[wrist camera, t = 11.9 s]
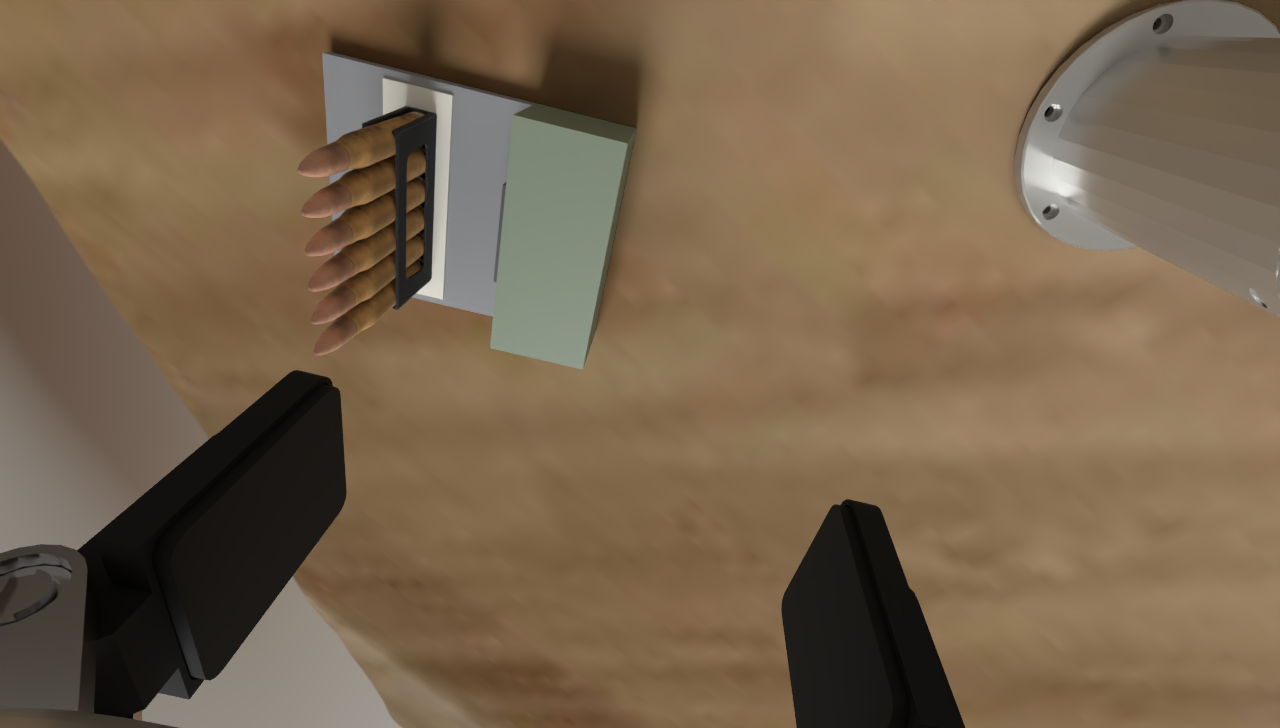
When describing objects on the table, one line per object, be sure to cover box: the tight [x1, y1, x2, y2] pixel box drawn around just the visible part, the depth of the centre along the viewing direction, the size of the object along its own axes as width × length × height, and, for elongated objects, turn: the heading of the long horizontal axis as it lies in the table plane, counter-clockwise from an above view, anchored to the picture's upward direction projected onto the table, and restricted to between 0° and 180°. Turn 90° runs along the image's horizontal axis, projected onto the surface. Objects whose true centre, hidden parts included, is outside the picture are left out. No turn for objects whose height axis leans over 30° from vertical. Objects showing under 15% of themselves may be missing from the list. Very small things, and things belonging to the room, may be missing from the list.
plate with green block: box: [322, 52, 637, 370], centre depth 35 cm, size 18×14×5 cm
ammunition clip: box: [298, 106, 437, 355], centre depth 31 cm, size 11×2×12 cm, turn 168°
